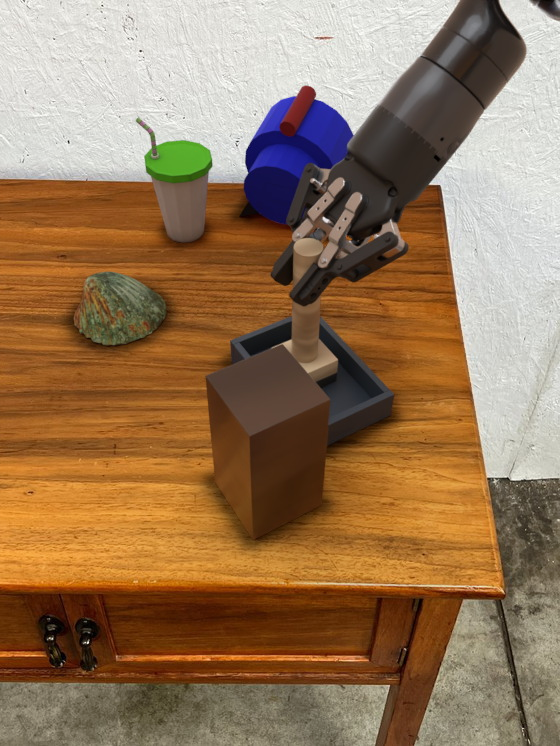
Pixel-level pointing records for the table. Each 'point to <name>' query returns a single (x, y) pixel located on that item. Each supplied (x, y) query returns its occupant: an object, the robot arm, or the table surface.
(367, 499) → the table surface
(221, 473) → the stand
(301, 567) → the table surface
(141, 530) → the table surface
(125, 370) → the table surface
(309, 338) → the wooden peg on base
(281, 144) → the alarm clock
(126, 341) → the seashell
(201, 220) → the cup
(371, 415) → the tray
